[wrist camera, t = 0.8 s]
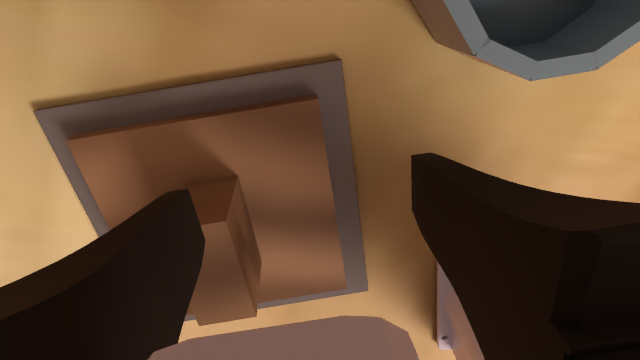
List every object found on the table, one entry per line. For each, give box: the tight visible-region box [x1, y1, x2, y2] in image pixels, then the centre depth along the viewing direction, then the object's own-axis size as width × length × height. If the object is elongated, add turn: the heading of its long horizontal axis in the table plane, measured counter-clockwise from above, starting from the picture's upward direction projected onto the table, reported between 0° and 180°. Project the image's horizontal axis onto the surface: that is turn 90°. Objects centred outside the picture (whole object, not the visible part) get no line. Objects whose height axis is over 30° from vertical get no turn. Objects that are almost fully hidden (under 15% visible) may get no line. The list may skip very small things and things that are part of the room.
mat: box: [34, 59, 368, 321], centre depth 23 cm, size 16×16×1 cm
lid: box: [66, 94, 347, 326], centre depth 20 cm, size 13×13×6 cm
